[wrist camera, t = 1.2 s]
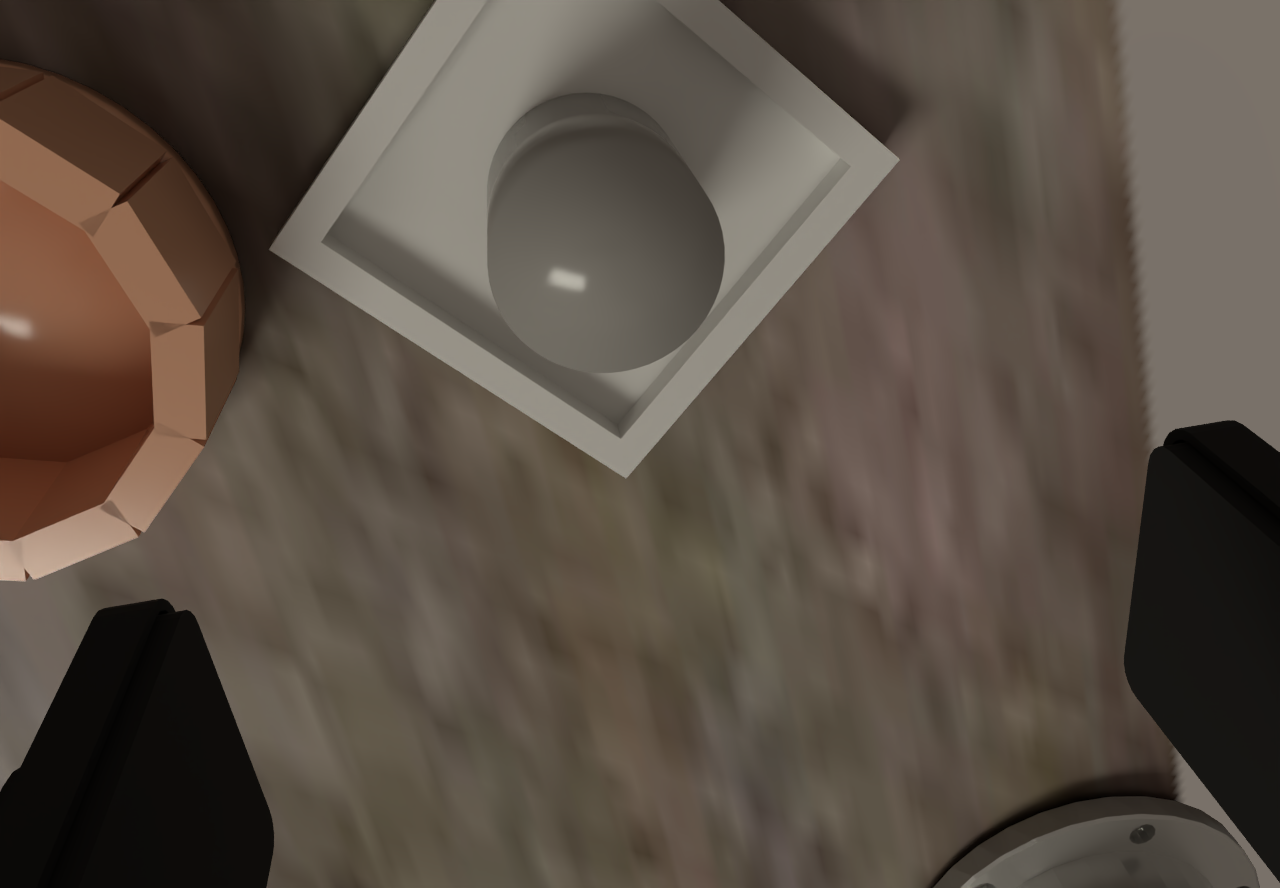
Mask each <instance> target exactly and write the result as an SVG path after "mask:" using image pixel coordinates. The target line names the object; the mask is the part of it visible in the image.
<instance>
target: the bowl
mask: <svg viewBox="0 0 1280 888" xmlns="http://www.w3.org/2000/svg"><path fill="white" fill-rule="evenodd" d="M244 322H245V297H244V284H243V278H242V274H241V269H240V264H239V260H238V255H237V252H236V250H235V247H234V244H233V241H232V239H231V236H230V233H229V230H228V228H227V226H226V224H225V222H224V220H223V218H222V216H221V214H220V212H219V210H218V208H217V206H216V204H215V202H214V200H213V199H212V197H211V196H210V195H209V193H208V192H207V190H206V189H205V187H204V186H203V184H202V183H201V181H200V180H199V178H198V177H197V175H196V174H195V173H194V172H193V170H192V169H191V168H190V167H189V166H188V165H187V164H186V162H185V161H184V160H183V159H182V158H181V157H180V155H179V154H178V153H177V152H176V151H175V150H174V149H173V148H172V147H171V146H170V145H169V144H168V143H167V142H166V141H165V140H164V139H162V138H161V137H160V136H159V135H158V134H157V133H156V132H155V131H154V130H153V129H152V128H151V127H149V126H148V125H147V124H145V123H144V122H143V121H141V120H140V119H139V118H137V117H136V116H135V115H133V114H132V113H131V112H129V111H128V110H126V109H125V108H124V107H122V106H121V105H119V104H117V103H116V102H114V101H112V100H110V99H109V98H107V97H105V96H104V95H102V94H100V93H98V92H97V91H95V90H93V89H92V88H89V87H87V86H85V85H83V84H80V83H78V82H76V81H73V80H71V79H69V78H67V77H64V76H62V75H60V74H57V73H54V72H51V71H47V70H44V69H41V68H38V67H35V66H31V65H28V64H25V63H19V62H14V61H9V60H3V59H0V580H9V581H26V580H27V579H28V577H29V576H31V577H32V578H33V579H34V580H36V579H38V578H40V577H43V576H45V575H48V574H50V573H53V572H55V571H57V570H60V569H62V568H65V567H67V566H69V565H72V564H74V563H77V562H79V561H82V560H84V559H86V558H89V557H91V556H94V555H96V554H99V553H101V552H103V551H106V550H108V549H111V548H113V547H116V546H118V545H120V544H123V543H125V542H128V541H130V540H132V539H135V538H137V537H139V535H140V533H141V531H143V532H145V531H146V530H147V528H148V527H149V525H150V524H151V522H152V521H153V519H154V518H155V517H156V515H157V514H158V512H159V511H160V509H161V508H162V507H163V505H164V504H165V502H166V501H167V499H168V498H169V497H170V495H171V494H172V492H173V491H174V489H175V488H176V486H177V485H178V484H179V482H180V481H181V479H182V478H183V476H184V475H185V474H186V472H187V471H188V469H189V468H190V466H191V465H192V464H193V462H194V461H195V459H196V458H197V456H198V455H199V453H200V452H201V451H202V449H203V448H204V446H205V444H206V442H207V440H208V438H209V436H210V434H211V431H212V429H213V427H214V425H215V423H216V421H217V419H218V417H219V415H220V413H221V411H222V409H223V406H224V404H225V402H226V400H227V398H228V396H229V394H230V392H231V390H232V388H233V386H234V383H235V381H236V379H237V375H238V373H239V353H240V349H241V344H242V340H243V335H244Z"/></svg>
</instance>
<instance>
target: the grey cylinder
mask: <svg viewBox="0 0 1280 888" xmlns="http://www.w3.org/2000/svg"><path fill="white" fill-rule="evenodd" d="M724 264H725V246H724V239H723V232H722V229H721V225H720V222H719V218H718V216H717V213H716V211H715V209H714V207H713V204H712V203H711V201H710V199H709V198H708V196H707V195H706V193H705V191H704V190H703V188H702V187H701V185H700V184H699V182H698V181H697V179H696V178H695V176H694V175H693V173H692V172H691V170H690V169H689V167H688V166H687V164H686V163H685V161H684V160H683V158H682V157H681V155H680V154H679V152H678V151H677V149H676V147H675V146H674V144H673V143H672V141H671V140H670V138H669V137H668V135H667V134H666V133H665V131H664V130H663V129H662V128H661V126H660V125H659V124H658V123H657V122H656V121H655V120H654V119H653V118H652V117H651V116H649V115H648V114H647V113H646V112H644V111H643V110H641V109H640V108H638V107H637V106H635V105H633V104H631V103H629V102H627V101H625V100H622V99H620V98H617V97H614V96H610V95H605V94H600V93H573V94H568V95H563V96H559V97H556V98H553V99H551V100H548V101H546V102H544V103H542V104H540V105H538V106H536V107H534V108H533V109H531V110H530V111H528V112H527V113H526V114H524V115H523V116H522V117H521V118H520V119H519V120H518V121H517V122H515V123H514V124H513V126H512V127H511V128H510V129H509V130H508V132H507V133H506V134H505V136H504V137H503V139H502V141H501V142H500V144H499V145H498V148H497V150H496V152H495V154H494V156H493V159H492V163H491V166H490V169H489V175H488V182H487V267H488V276H489V283H490V287H491V291H492V295H493V298H494V300H495V302H496V305H497V307H498V310H499V311H500V313H501V315H502V317H503V318H504V320H505V322H506V323H507V325H508V326H509V327H510V329H511V330H512V331H513V332H514V334H515V335H516V336H517V337H518V338H519V339H520V340H521V341H522V342H523V343H524V344H525V345H527V346H528V347H529V348H530V349H532V350H533V351H534V352H536V353H537V354H539V355H541V356H542V357H544V358H546V359H547V360H549V361H551V362H554V363H556V364H558V365H561V366H563V367H567V368H570V369H574V370H578V371H584V372H591V373H614V372H623V371H628V370H632V369H637V368H639V367H642V366H645V365H648V364H651V363H653V362H655V361H657V360H659V359H661V358H663V357H665V356H666V355H668V354H670V353H671V352H673V351H674V350H676V349H677V348H678V347H680V346H681V345H682V344H683V343H684V342H686V341H687V340H688V339H689V338H690V337H691V336H692V335H693V334H694V333H695V331H696V330H697V329H698V328H699V327H700V325H701V324H702V323H703V321H704V320H705V319H706V317H707V315H708V314H709V312H710V310H711V308H712V306H713V305H714V302H715V300H716V297H717V295H718V292H719V290H720V286H721V282H722V278H723V272H724Z"/></svg>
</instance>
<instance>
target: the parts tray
mask: <svg viewBox="0 0 1280 888" xmlns="http://www.w3.org/2000/svg"><path fill="white" fill-rule="evenodd" d="M573 93H600V94H605V95H610V96H614V97H617V98H620V99H622V100H625V101H627V102H629V103H631V104H633V105H635V106H637V107H638V108H640V109H641V110H643V111H644V112H646V113H647V114H648V115H649V116H651V117H652V118H653V119H654V120H655V121H656V122H657V123H658V124H659V125H660V126H661V128H662V129H663V130H664V131H665V133H666V134H667V135H668V137H669V138H670V140H671V141H672V143H673V144H674V146H675V147H676V149H677V151H678V152H679V154H680V155H681V157H682V158H683V160H684V161H685V163H686V164H687V166H688V167H689V169H690V170H691V172H692V173H693V175H694V176H695V178H696V179H697V181H698V182H699V184H700V185H701V187H702V188H703V190H704V191H705V193H706V195H707V196H708V198H709V199H710V201H711V203H712V204H713V207H714V209H715V211H716V213H717V216H718V218H719V222H720V225H721V229H722V232H723V239H724V246H725V264H724V272H723V278H722V282H721V286H720V290H719V292H718V295H717V297H716V300H715V302H714V305H713V306H712V308H711V310H710V312H709V314H708V315H707V317H706V319H705V320H704V321H703V323H702V324H701V325H700V327H699V328H698V329H697V330H696V331H695V333H694V334H693V335H692V336H691V337H690V338H689V339H688V340H687V341H686V342H684V343H683V344H682V345H681V346H680V347H678V348H677V349H676V350H674V351H673V352H671V353H670V354H668V355H666V356H665V357H663V358H661V359H659V360H657V361H655V362H653V363H651V364H648V365H645V366H642V367H639V368H637V369H632V370H628V371H623V372H614V373H591V372H584V371H578V370H574V369H570V368H567V367H563V366H561V365H558V364H556V363H554V362H551V361H549V360H547V359H546V358H544V357H542V356H541V355H539V354H537V353H536V352H534V351H533V350H532V349H530V348H529V347H528V346H527V345H525V344H524V343H523V342H522V341H521V340H520V339H519V338H518V337H517V336H516V335H515V334H514V332H513V331H512V330H511V329H510V327H509V326H508V325H507V323H506V322H505V320H504V318H503V317H502V315H501V313H500V311H499V310H498V307H497V305H496V302H495V300H494V298H493V295H492V291H491V287H490V283H489V276H488V267H487V182H488V175H489V169H490V166H491V163H492V159H493V156H494V154H495V152H496V150H497V148H498V145H499V144H500V142H501V141H502V139H503V137H504V136H505V134H506V133H507V132H508V130H509V129H510V128H511V127H512V126H513V124H514V123H515V122H517V121H518V120H519V119H520V118H521V117H522V116H523V115H524V114H526V113H527V112H528V111H530V110H531V109H533V108H534V107H536V106H538V105H540V104H542V103H544V102H546V101H548V100H551V99H553V98H556V97H559V96H563V95H568V94H573ZM899 160H900V159H899V158H898V157H896V156H895V155H894V154H893V153H892V152H891V151H890V150H889V149H887V148H886V147H885V146H884V145H883V144H882V143H881V142H879V141H878V140H877V139H876V138H875V137H874V136H873V135H871V134H870V133H869V132H868V131H867V130H866V129H865V128H863V127H862V126H861V125H860V124H859V123H858V122H857V121H856V120H854V119H853V118H852V117H851V116H850V115H849V114H848V113H846V112H845V111H844V110H843V109H842V108H841V107H840V106H838V105H837V104H836V103H835V102H834V101H833V100H832V99H830V98H829V97H828V96H827V95H826V94H825V93H824V92H823V91H821V90H820V89H819V88H818V87H817V86H816V85H815V84H813V83H812V82H811V81H810V80H809V79H808V78H807V77H805V76H804V75H803V74H802V73H801V72H800V71H799V70H797V69H796V68H795V67H794V66H793V65H792V64H791V63H790V62H788V61H787V60H786V59H785V58H784V57H783V56H782V55H780V54H779V53H778V52H777V51H776V50H775V49H774V48H772V47H771V46H770V45H769V44H768V43H767V42H766V41H764V40H763V39H762V38H761V37H760V36H759V35H758V34H757V33H755V32H754V31H753V30H752V29H751V28H750V27H749V26H747V25H746V24H745V23H744V22H743V21H742V20H741V19H739V18H738V17H737V16H736V15H735V14H734V13H733V12H731V11H730V10H729V9H728V8H727V7H726V6H725V5H724V4H722V3H721V2H720V1H719V0H434V2H433V3H432V5H431V6H430V8H429V9H428V11H427V12H426V14H425V15H424V17H423V18H422V20H421V21H420V23H419V24H418V26H417V27H416V29H415V30H414V32H413V33H412V35H411V36H410V38H409V39H408V41H407V42H406V44H405V45H404V46H403V48H402V49H401V51H400V52H399V54H398V55H397V57H396V58H395V60H394V61H393V63H392V64H391V66H390V67H389V69H388V70H387V72H386V73H385V75H384V76H383V78H382V79H381V81H380V82H379V84H378V85H377V87H376V88H375V90H374V91H373V93H372V94H371V96H370V97H369V99H368V100H367V102H366V103H365V105H364V106H363V107H362V109H361V110H360V112H359V113H358V115H357V116H356V118H355V119H354V121H353V122H352V124H351V125H350V127H349V128H348V130H347V131H346V133H345V134H344V136H343V137H342V139H341V140H340V142H339V143H338V145H337V146H336V148H335V149H334V151H333V152H332V154H331V155H330V157H329V158H328V160H327V161H326V163H325V164H324V166H323V167H322V169H321V170H320V171H319V173H318V174H317V176H316V177H315V179H314V180H313V182H312V183H311V185H310V186H309V188H308V189H307V191H306V192H305V194H304V195H303V197H302V198H301V200H300V201H299V203H298V204H297V206H296V207H295V209H294V210H293V212H292V213H291V215H290V216H289V218H288V219H287V221H286V222H285V224H284V225H283V227H282V228H281V230H280V231H279V232H278V234H277V236H276V238H275V239H274V241H273V243H272V245H271V247H270V248H269V250H270V251H272V252H273V253H275V254H276V255H278V256H279V257H281V258H283V259H284V260H286V261H287V262H289V263H290V264H292V265H293V266H295V267H297V268H298V269H300V270H301V271H303V272H304V273H306V274H308V275H309V276H311V277H312V278H314V279H315V280H317V281H318V282H320V283H322V284H323V285H325V286H326V287H328V288H329V289H331V290H333V291H334V292H336V293H337V294H339V295H340V296H342V297H343V298H345V299H347V300H348V301H350V302H351V303H353V304H354V305H356V306H357V307H359V308H361V309H362V310H364V311H365V312H367V313H368V314H370V315H372V316H373V317H375V318H376V319H378V320H379V321H381V322H382V323H384V324H386V325H387V326H389V327H390V328H392V329H393V330H395V331H397V332H398V333H400V334H401V335H403V336H404V337H406V338H407V339H409V340H411V341H412V342H414V343H415V344H417V345H418V346H420V347H422V348H423V349H425V350H426V351H428V352H429V353H431V354H432V355H434V356H436V357H437V358H439V359H440V360H442V361H443V362H445V363H446V364H448V365H450V366H451V367H453V368H454V369H456V370H457V371H459V372H461V373H462V374H464V375H465V376H467V377H468V378H470V379H471V380H473V381H475V382H476V383H478V384H479V385H481V386H482V387H484V388H486V389H487V390H489V391H490V392H492V393H493V394H495V395H496V396H498V397H500V398H501V399H503V400H504V401H506V402H507V403H509V404H511V405H512V406H514V407H515V408H517V409H518V410H520V411H521V412H523V413H525V414H526V415H528V416H529V417H531V418H532V419H534V420H535V421H537V422H539V423H540V424H542V425H543V426H545V427H546V428H548V429H550V430H551V431H553V432H554V433H556V434H557V435H559V436H560V437H562V438H564V439H565V440H567V441H568V442H570V443H571V444H573V445H575V446H576V447H578V448H579V449H581V450H582V451H584V452H585V453H587V454H589V455H590V456H592V457H593V458H595V459H596V460H598V461H600V462H601V463H603V464H604V465H606V466H607V467H609V468H610V469H612V470H614V471H615V472H617V473H618V474H620V475H621V476H623V477H624V478H627V477H628V476H629V475H630V473H631V472H632V471H633V470H634V469H635V468H636V466H637V465H638V464H639V463H640V462H641V461H642V459H643V458H644V457H645V456H646V455H647V454H648V452H649V451H650V450H651V449H652V448H653V447H654V446H655V444H656V443H657V442H658V441H659V440H660V439H661V437H662V436H663V435H664V434H665V433H666V432H667V430H668V429H669V428H670V427H671V426H672V425H673V423H674V422H675V421H676V420H677V419H678V418H679V416H680V415H681V414H682V413H683V412H684V411H685V409H686V408H687V407H688V406H689V405H690V404H691V402H692V401H693V400H694V399H695V398H696V397H697V395H698V394H699V393H700V392H701V391H702V390H703V388H704V387H705V386H706V385H707V384H708V383H709V381H710V380H711V379H712V378H713V377H714V376H715V374H716V373H717V372H718V371H719V370H720V369H721V367H722V366H723V365H724V364H725V363H726V362H727V360H728V359H729V358H730V357H731V356H732V355H733V353H734V352H735V351H736V350H737V349H738V348H739V346H740V345H741V344H742V343H743V342H744V341H745V339H746V338H747V337H748V336H749V335H750V334H751V332H752V331H753V330H754V329H755V328H756V327H757V325H758V324H759V323H760V322H761V321H762V320H763V319H764V317H765V316H766V315H767V314H768V313H769V312H770V310H771V309H772V308H773V307H774V306H775V305H776V303H777V302H778V301H779V300H780V299H781V298H782V296H783V295H784V294H785V293H786V292H787V291H788V289H789V288H790V287H791V286H792V285H793V284H794V282H795V281H796V280H797V279H798V278H799V277H800V275H801V274H802V273H803V272H804V271H805V270H806V268H807V267H808V266H809V265H810V264H811V263H812V261H813V260H814V259H815V258H816V257H817V256H818V254H819V253H820V252H821V251H822V250H823V249H824V247H825V246H826V245H827V244H828V243H829V242H830V240H831V239H832V238H833V237H834V236H835V235H836V233H837V232H838V231H839V230H840V229H841V228H842V226H843V225H844V224H845V223H846V222H847V221H848V219H849V218H850V217H851V216H852V215H853V214H854V212H855V211H856V210H857V209H858V208H859V207H860V205H861V204H862V203H863V202H864V201H865V200H866V198H867V197H868V196H869V195H870V194H871V193H872V192H873V190H874V189H875V188H876V187H877V186H878V185H879V183H880V182H881V181H882V180H883V179H884V178H885V176H886V175H887V174H888V173H889V172H890V171H891V169H892V168H893V167H894V166H895V165H896V164H897V162H898V161H899Z"/></svg>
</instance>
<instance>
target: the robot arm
mask: <svg viewBox="0 0 1280 888" xmlns="http://www.w3.org/2000/svg"><path fill="white" fill-rule="evenodd" d="M1124 667H1125V673H1126V677H1127V680H1128V683H1129V685H1130V687H1131V690H1132V691H1133V693H1134V694H1135V696H1136V697H1137V699H1138V700H1139V701H1140V703H1141V704H1142V705H1143V707H1144V708H1145V709H1146V710H1147V712H1148V713H1149V714H1150V716H1151V717H1152V718H1153V719H1154V721H1155V722H1156V723H1157V725H1158V726H1159V727H1160V728H1161V730H1162V731H1163V732H1164V734H1165V735H1166V736H1167V738H1168V739H1169V740H1170V741H1171V743H1172V744H1173V745H1174V747H1175V748H1176V749H1177V750H1178V752H1179V753H1180V754H1181V756H1182V757H1183V758H1184V759H1185V761H1186V762H1187V763H1188V765H1189V766H1190V767H1191V769H1192V770H1193V771H1194V772H1195V774H1196V775H1197V776H1198V778H1199V779H1200V780H1201V781H1202V783H1203V784H1204V785H1205V787H1206V788H1207V789H1208V790H1209V792H1210V793H1211V794H1212V796H1213V797H1214V798H1215V799H1216V800H1217V802H1218V803H1219V805H1220V806H1221V807H1222V808H1223V810H1224V811H1225V812H1226V814H1227V815H1228V816H1229V818H1230V819H1231V820H1232V821H1233V823H1234V824H1235V825H1236V827H1237V828H1238V829H1239V831H1240V832H1241V833H1242V834H1243V836H1244V837H1245V838H1246V840H1247V841H1248V842H1249V843H1250V845H1251V846H1252V847H1253V849H1254V850H1255V851H1256V852H1257V854H1258V855H1259V856H1260V858H1261V859H1262V860H1263V862H1264V863H1265V864H1266V865H1267V867H1268V868H1269V869H1270V870H1271V872H1272V873H1273V874H1274V876H1275V877H1276V878H1277V880H1278V881H1279V882H1280V452H1278V451H1277V450H1276V449H1274V448H1273V447H1272V446H1270V445H1269V444H1268V443H1266V442H1265V441H1264V440H1263V439H1261V438H1260V437H1258V436H1257V435H1256V434H1255V433H1253V432H1252V431H1251V430H1249V429H1248V428H1247V427H1245V426H1244V425H1243V424H1241V423H1238V422H1237V421H1221V422H1215V423H1209V424H1203V425H1197V426H1191V427H1185V428H1179V429H1175V430H1173V431H1172V432H1170V433H1169V434H1168V436H1167V437H1166V439H1165V441H1164V444H1163V446H1160V447H1157V448H1155V449H1154V450H1153V452H1152V453H1151V455H1150V458H1149V463H1148V470H1147V478H1146V486H1145V494H1144V502H1143V510H1142V518H1141V526H1140V534H1139V542H1138V550H1137V558H1136V566H1135V574H1134V582H1133V590H1132V598H1131V606H1130V614H1129V622H1128V630H1127V638H1126V646H1125V654H1124ZM273 848H274V830H273V822H272V817H271V814H270V810H269V807H268V805H267V802H266V800H265V797H264V794H263V792H262V789H261V787H260V784H259V781H258V779H257V776H256V773H255V771H254V768H253V766H252V763H251V760H250V758H249V755H248V753H247V750H246V747H245V745H244V742H243V739H242V737H241V734H240V732H239V729H238V726H237V724H236V721H235V719H234V716H233V713H232V711H231V708H230V705H229V703H228V700H227V698H226V695H225V692H224V690H223V687H222V685H221V682H220V679H219V677H218V674H217V672H216V669H215V666H214V664H213V661H212V658H211V656H210V653H209V651H208V648H207V645H206V643H205V640H204V638H203V635H202V632H201V630H200V627H199V624H198V622H197V620H196V618H195V616H194V615H193V614H192V613H191V611H188V610H184V611H178V612H175V610H174V608H173V606H172V605H171V604H170V603H169V602H168V601H167V600H164V599H157V600H151V601H145V602H139V603H133V604H127V605H121V606H115V607H109V608H104V609H101V610H99V611H98V612H97V613H96V615H95V616H94V617H93V619H92V621H91V623H90V625H89V627H88V630H87V632H86V634H85V636H84V638H83V640H82V642H81V644H80V646H79V648H78V650H77V652H76V654H75V656H74V658H73V660H72V662H71V664H70V667H69V669H68V671H67V673H66V675H65V677H64V679H63V681H62V683H61V685H60V687H59V689H58V691H57V693H56V695H55V697H54V699H53V702H52V704H51V706H50V708H49V710H48V712H47V714H46V716H45V718H44V720H43V722H42V724H41V726H40V728H39V730H38V732H37V734H36V736H35V739H34V741H33V743H32V745H31V747H30V749H29V751H28V753H27V755H26V757H25V759H24V761H23V763H22V765H21V767H20V768H19V769H17V770H15V771H14V772H13V773H12V774H11V775H10V777H9V778H8V780H7V781H6V783H5V784H4V786H3V787H2V789H1V792H0V888H266V886H267V881H268V876H269V871H270V866H271V861H272V856H273ZM933 888H1260V886H1259V882H1258V878H1257V874H1256V870H1255V868H1254V866H1253V865H1252V863H1251V861H1250V860H1249V858H1248V856H1247V855H1246V853H1245V852H1244V850H1243V849H1242V847H1241V846H1240V845H1239V844H1238V843H1237V841H1236V840H1235V839H1234V838H1233V836H1232V835H1231V834H1230V833H1229V832H1228V831H1227V830H1226V828H1225V827H1224V826H1223V825H1222V824H1221V823H1219V822H1218V821H1217V820H1215V819H1214V818H1212V817H1211V816H1209V815H1207V814H1206V813H1204V812H1203V811H1201V810H1199V809H1196V808H1193V807H1191V806H1188V805H1185V804H1182V803H1180V802H1177V801H1173V800H1166V799H1160V798H1153V797H1147V796H1123V797H1104V798H1098V799H1092V800H1086V801H1079V802H1074V803H1071V804H1067V805H1064V806H1061V807H1057V808H1054V809H1051V810H1047V811H1044V812H1041V813H1039V814H1036V815H1034V816H1032V817H1030V818H1027V819H1025V820H1023V821H1021V822H1018V823H1016V824H1014V825H1012V826H1009V827H1007V828H1006V829H1004V830H1003V831H1001V832H999V833H998V834H996V835H994V836H993V837H991V838H989V839H988V840H986V841H985V842H983V843H981V844H980V845H978V846H977V847H976V848H974V849H973V850H972V851H971V852H969V853H968V854H967V855H966V856H965V857H963V858H962V859H961V860H960V861H958V862H957V863H956V864H955V865H953V866H952V867H951V868H950V870H949V871H948V872H947V873H946V874H945V875H944V876H943V877H942V878H941V879H940V881H939V882H938V883H937V884H936V885H935V886H934V887H933Z"/></svg>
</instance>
